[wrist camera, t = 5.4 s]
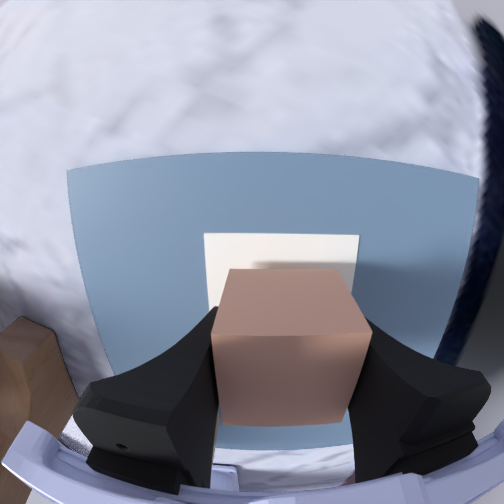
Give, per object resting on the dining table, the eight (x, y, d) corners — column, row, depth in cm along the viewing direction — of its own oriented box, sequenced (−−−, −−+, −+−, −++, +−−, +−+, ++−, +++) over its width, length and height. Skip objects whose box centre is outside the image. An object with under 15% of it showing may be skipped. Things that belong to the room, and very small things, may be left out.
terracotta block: (323, 351, 13) (341, 422, 8) (233, 351, 13) (222, 424, 9) (336, 269, 11) (372, 331, 7) (229, 268, 11) (210, 333, 7)
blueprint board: (387, 431, 18) (389, 437, 18) (146, 431, 19) (144, 437, 18) (472, 177, 11) (479, 178, 10) (73, 169, 12) (65, 170, 11)
